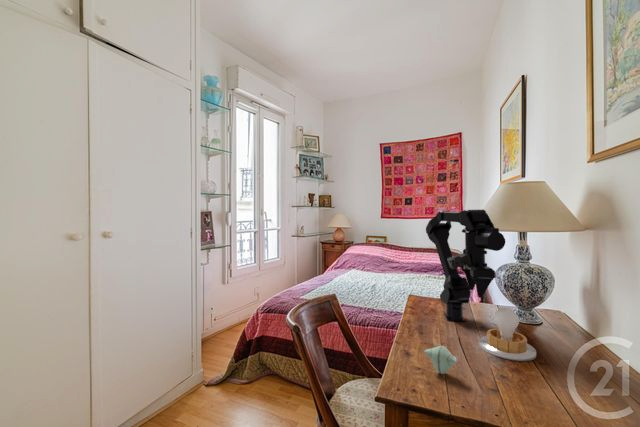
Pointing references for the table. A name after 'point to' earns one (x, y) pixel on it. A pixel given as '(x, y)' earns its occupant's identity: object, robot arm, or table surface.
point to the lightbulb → (506, 322)
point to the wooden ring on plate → (507, 346)
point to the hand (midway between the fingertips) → (475, 293)
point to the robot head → (441, 358)
